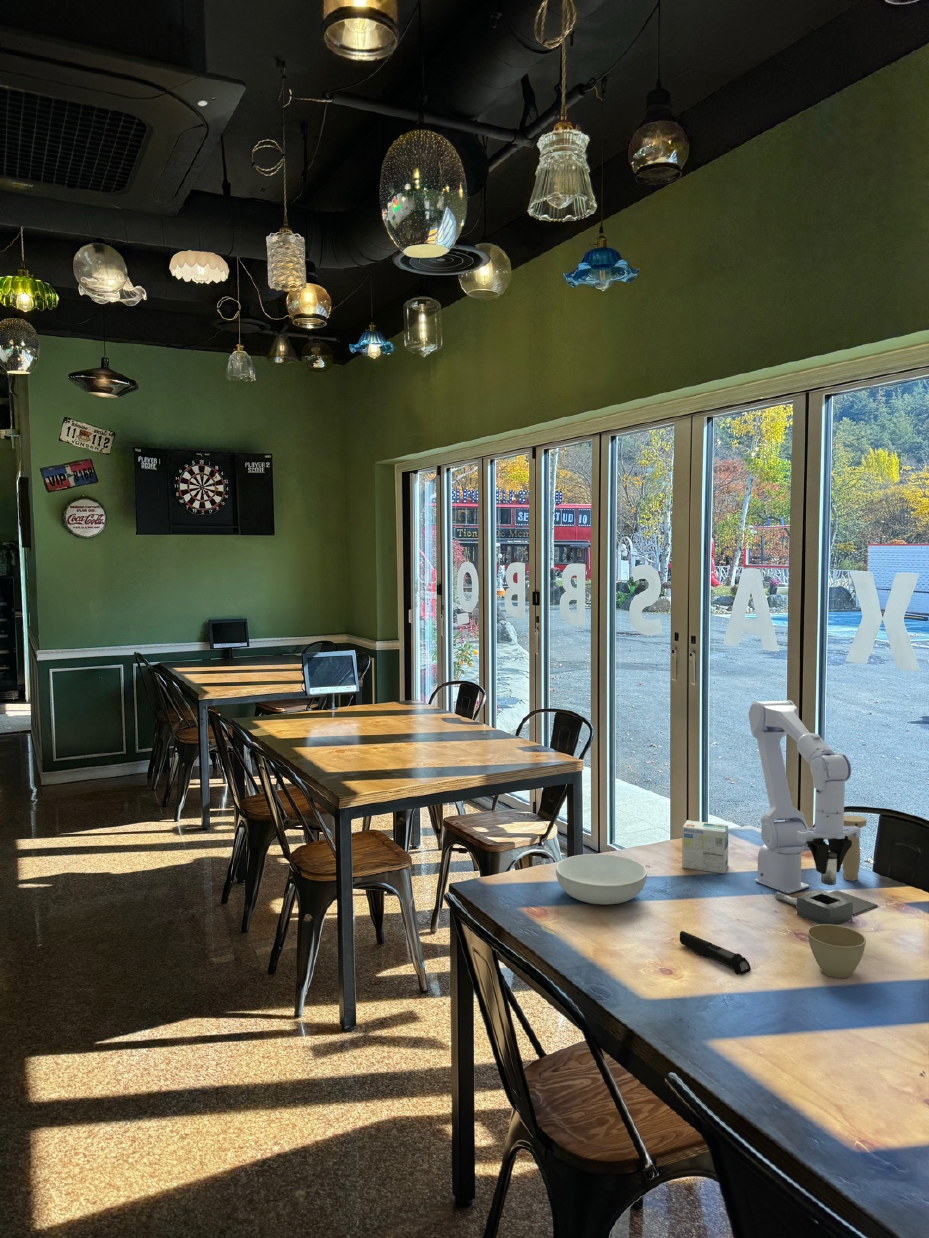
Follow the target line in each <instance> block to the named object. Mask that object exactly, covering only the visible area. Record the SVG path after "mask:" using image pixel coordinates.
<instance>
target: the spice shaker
mask: <svg viewBox="0 0 929 1238" xmlns="http://www.w3.org/2000/svg"><path fill="white" fill-rule="evenodd" d="M837 853H838V852H837V851H836V850H833V849H829V852H828V855H827V862H826V872H825V874H821V873H820V883H822V884H823V885H827V886H835V885H836V884H837V873H838V872H837Z"/></svg>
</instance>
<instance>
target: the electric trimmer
mask: <svg viewBox="0 0 929 1238" xmlns="http://www.w3.org/2000/svg"><path fill="white" fill-rule="evenodd" d="M679 942H680V943H681V945H683V946H685V947H686V948H688V949H689V950H690V951H692V952H694V953H696V954H697V955H699V956H700V957H702V958H709V959H711V960H713V961H715V962H717V963H719V964H721V965H722V966H723V965H724V967H728V968H729V969H731V970H733V971H734V974H736V975H741V976H743V975H746V974H747V973H750V972H751V971H752V968H751V964H750V963H749V961H748V960H747V958H746V957H743V956H742V955H741V954H740V953H738V952H737V953H735V952H733V951H730V950H728V949H726V948H723V947H721V946H719V945H717V944H714V943H712V942H710V941H707V940H705V939H703V938H701V937H699V936H696V935H694V934H691V933H689V932H686V931H684V930H681V931H680V932H679Z"/></svg>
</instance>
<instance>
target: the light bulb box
mask: <svg viewBox="0 0 929 1238" xmlns="http://www.w3.org/2000/svg"><path fill="white" fill-rule="evenodd" d="M681 847H682V853H681V854H682V858H681V859H682V861H681V863H682V864H681V865H682V866H681V868H682V869H690V870H697V871H703V872H712V873H719V874H725V873H726V872H727V869H728V866H729V824H727V823H726V824H724V823H714V822H706V821H705V822H704V821H697V820H696V821H695V820H688V819H687V820H686V821H685V823H684V824H683V826H682V846H681Z"/></svg>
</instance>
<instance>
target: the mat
mask: <svg viewBox="0 0 929 1238" xmlns="http://www.w3.org/2000/svg"><path fill="white" fill-rule="evenodd" d="M829 893H831V894H834V895H837V896H840V897H842V898H845V899H848V900H851V901H853V915H852V917H853V916H857V915H858V914H859V915H860V914H862V913H864V912H867V911H869V910H871V909H875V908H878V904H876V903H874V902H872V901H868V900H865V899H862V898H860V897H857V896H854V895H852V894H849V893H847V892H843V891H840V890H837V889H836V890H833V891H830V892H829Z"/></svg>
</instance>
